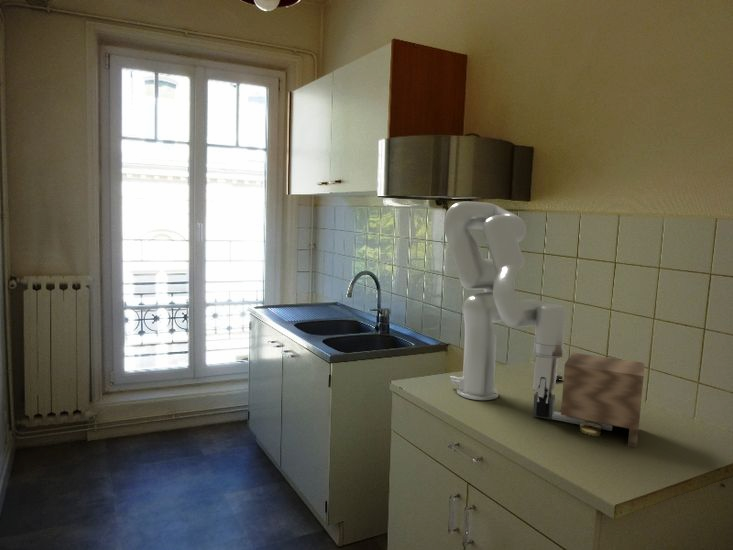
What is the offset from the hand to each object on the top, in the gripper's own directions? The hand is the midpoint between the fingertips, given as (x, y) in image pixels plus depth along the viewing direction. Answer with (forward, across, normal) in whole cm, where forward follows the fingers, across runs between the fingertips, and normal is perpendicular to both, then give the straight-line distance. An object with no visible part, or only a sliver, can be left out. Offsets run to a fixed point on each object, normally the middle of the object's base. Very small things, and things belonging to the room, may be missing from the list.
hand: (543, 413), depth 150 cm
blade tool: (+1, 0, +7) cm, 7 cm away
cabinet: (+1, +1, +14) cm, 15 cm away
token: (+1, +4, +12) cm, 13 cm away
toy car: (+2, -36, -5) cm, 36 cm away
